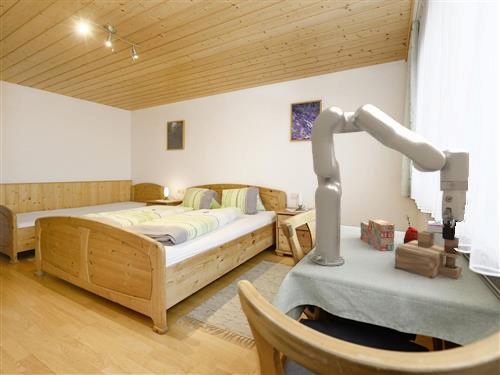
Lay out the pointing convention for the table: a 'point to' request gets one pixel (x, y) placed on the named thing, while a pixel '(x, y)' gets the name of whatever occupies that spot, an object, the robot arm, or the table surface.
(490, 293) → the table surface
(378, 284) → the table surface
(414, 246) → the lid
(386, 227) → the stack of blocks
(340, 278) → the table surface
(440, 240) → the syrup box
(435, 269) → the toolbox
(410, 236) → the red clay folk toy
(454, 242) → the wooden bottle
